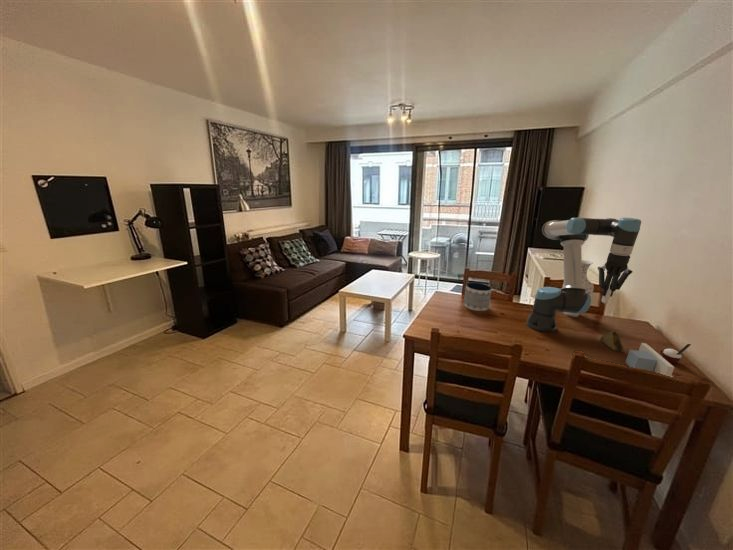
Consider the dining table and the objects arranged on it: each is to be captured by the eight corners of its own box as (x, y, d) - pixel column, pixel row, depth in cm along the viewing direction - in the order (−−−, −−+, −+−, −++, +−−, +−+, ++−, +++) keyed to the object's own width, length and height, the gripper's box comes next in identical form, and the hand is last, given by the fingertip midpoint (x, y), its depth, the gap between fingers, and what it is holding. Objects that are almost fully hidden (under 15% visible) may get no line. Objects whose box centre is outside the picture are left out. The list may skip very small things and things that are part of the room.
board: (662, 382, 128) (668, 366, 126) (636, 357, 147) (641, 342, 144) (679, 385, 127) (686, 369, 124) (651, 359, 145) (656, 345, 143)
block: (633, 370, 136) (638, 357, 134) (625, 362, 143) (629, 349, 140) (652, 373, 134) (657, 360, 132) (642, 365, 141) (647, 352, 139)
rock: (594, 334, 163) (599, 340, 154) (608, 324, 160) (614, 330, 151) (610, 349, 161) (617, 356, 152) (626, 340, 158) (633, 346, 149)
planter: (461, 301, 210) (464, 281, 206) (485, 303, 208) (488, 283, 204) (465, 310, 195) (468, 289, 191) (491, 312, 193) (494, 291, 189)
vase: (552, 312, 195) (565, 260, 184) (561, 306, 205) (573, 257, 194) (581, 321, 183) (596, 266, 173) (589, 315, 193) (604, 262, 183)
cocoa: (656, 356, 149) (662, 334, 146) (671, 358, 148) (678, 335, 145) (669, 366, 140) (676, 342, 137) (685, 368, 139) (693, 344, 136)
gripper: (607, 254, 130) (592, 303, 138) (642, 257, 128) (624, 307, 136) (599, 250, 137) (585, 297, 145) (632, 252, 134) (616, 300, 142)
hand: (604, 302), depth 140 cm, fingers closed
